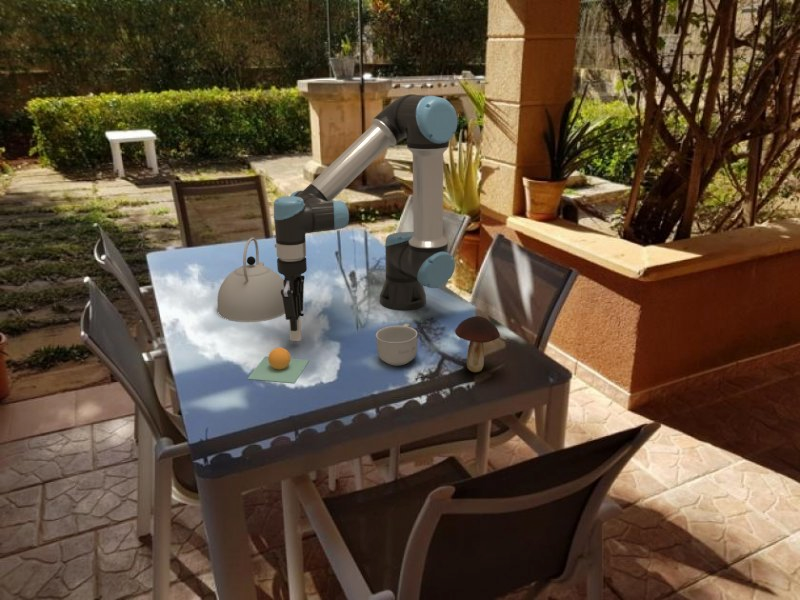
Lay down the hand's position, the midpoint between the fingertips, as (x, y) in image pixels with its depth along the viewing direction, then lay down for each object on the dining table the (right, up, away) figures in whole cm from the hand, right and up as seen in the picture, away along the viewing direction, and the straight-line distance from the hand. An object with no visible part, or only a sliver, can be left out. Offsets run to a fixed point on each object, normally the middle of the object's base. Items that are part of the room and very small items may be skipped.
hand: (296, 339), depth 162 cm
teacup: (+28, -5, -5) cm, 29 cm away
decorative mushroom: (+47, -7, -11) cm, 49 cm away
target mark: (-2, -7, -12) cm, 14 cm away
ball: (-2, -4, -12) cm, 13 cm away
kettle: (-18, +9, +27) cm, 33 cm away
